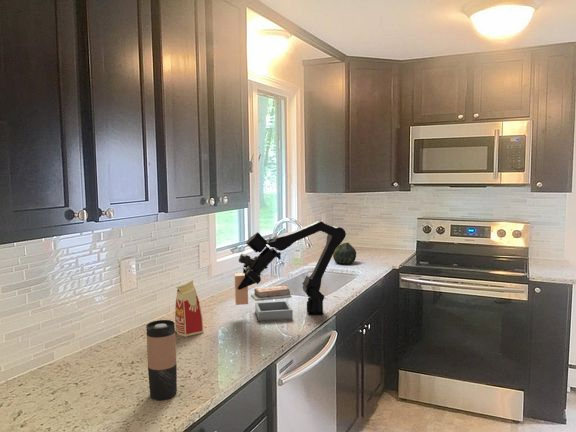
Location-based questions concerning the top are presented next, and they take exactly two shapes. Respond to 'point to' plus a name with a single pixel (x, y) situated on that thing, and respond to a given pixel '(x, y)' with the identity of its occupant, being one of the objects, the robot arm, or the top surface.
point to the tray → (273, 311)
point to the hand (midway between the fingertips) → (237, 287)
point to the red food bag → (188, 311)
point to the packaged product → (271, 292)
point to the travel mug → (162, 359)
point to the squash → (344, 254)
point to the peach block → (241, 294)
